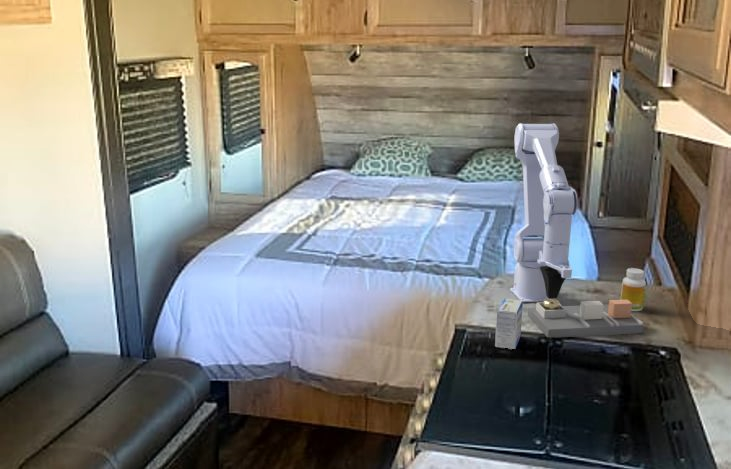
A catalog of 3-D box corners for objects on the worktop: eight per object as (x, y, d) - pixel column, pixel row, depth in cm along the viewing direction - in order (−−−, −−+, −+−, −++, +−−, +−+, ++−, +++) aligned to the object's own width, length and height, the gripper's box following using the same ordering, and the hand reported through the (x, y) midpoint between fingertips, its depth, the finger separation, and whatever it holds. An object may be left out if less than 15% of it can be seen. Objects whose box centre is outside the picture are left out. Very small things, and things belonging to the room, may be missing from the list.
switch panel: (527, 315, 177) (528, 300, 176) (615, 311, 180) (617, 296, 179) (547, 337, 165) (549, 322, 164) (642, 333, 168) (644, 317, 167)
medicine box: (515, 350, 158) (517, 313, 156) (494, 347, 160) (496, 310, 157) (520, 336, 166) (523, 300, 163) (500, 333, 167) (503, 297, 165)
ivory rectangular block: (579, 315, 172) (580, 301, 171) (597, 314, 173) (598, 300, 172) (583, 319, 170) (585, 305, 169) (602, 318, 170) (603, 304, 169)
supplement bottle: (644, 312, 180) (648, 275, 177) (621, 310, 181) (625, 273, 178) (640, 304, 185) (645, 267, 182) (618, 303, 186) (622, 266, 183)
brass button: (540, 304, 175) (541, 299, 174) (555, 304, 175) (555, 298, 175) (546, 310, 171) (547, 304, 171) (561, 310, 172) (561, 303, 171)
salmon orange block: (607, 314, 173) (609, 300, 172) (625, 313, 173) (627, 299, 173) (612, 318, 170) (614, 304, 170) (630, 317, 171) (632, 303, 170)
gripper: (528, 233, 175) (524, 287, 179) (552, 251, 161) (547, 309, 165) (557, 232, 176) (552, 286, 180) (582, 250, 162) (577, 308, 166)
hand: (551, 297), depth 172 cm, fingers closed
